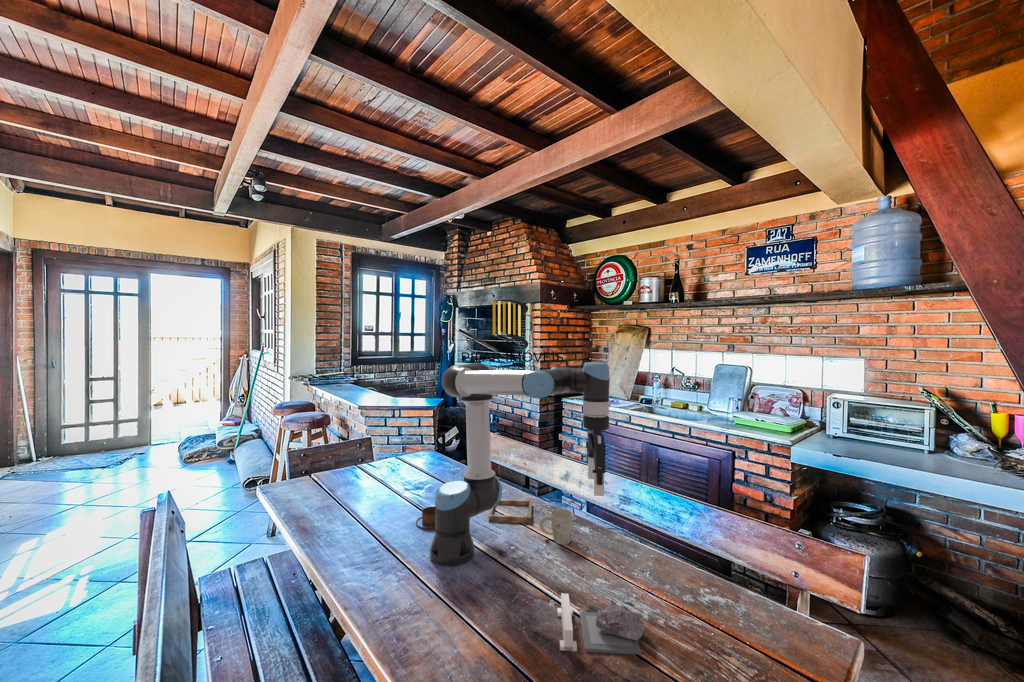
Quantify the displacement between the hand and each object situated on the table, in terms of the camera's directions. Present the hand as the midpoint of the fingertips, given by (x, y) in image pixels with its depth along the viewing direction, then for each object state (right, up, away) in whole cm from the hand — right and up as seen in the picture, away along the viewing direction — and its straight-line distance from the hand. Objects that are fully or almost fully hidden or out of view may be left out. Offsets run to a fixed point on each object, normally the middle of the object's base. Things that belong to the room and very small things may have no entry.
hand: (595, 486), depth 122 cm
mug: (-8, -31, +30) cm, 44 cm away
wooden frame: (-25, -30, +51) cm, 64 cm away
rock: (-1, -31, -16) cm, 35 cm away
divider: (-11, -31, -17) cm, 37 cm away
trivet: (0, -31, -18) cm, 36 cm away
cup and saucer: (-56, -30, +41) cm, 76 cm away
